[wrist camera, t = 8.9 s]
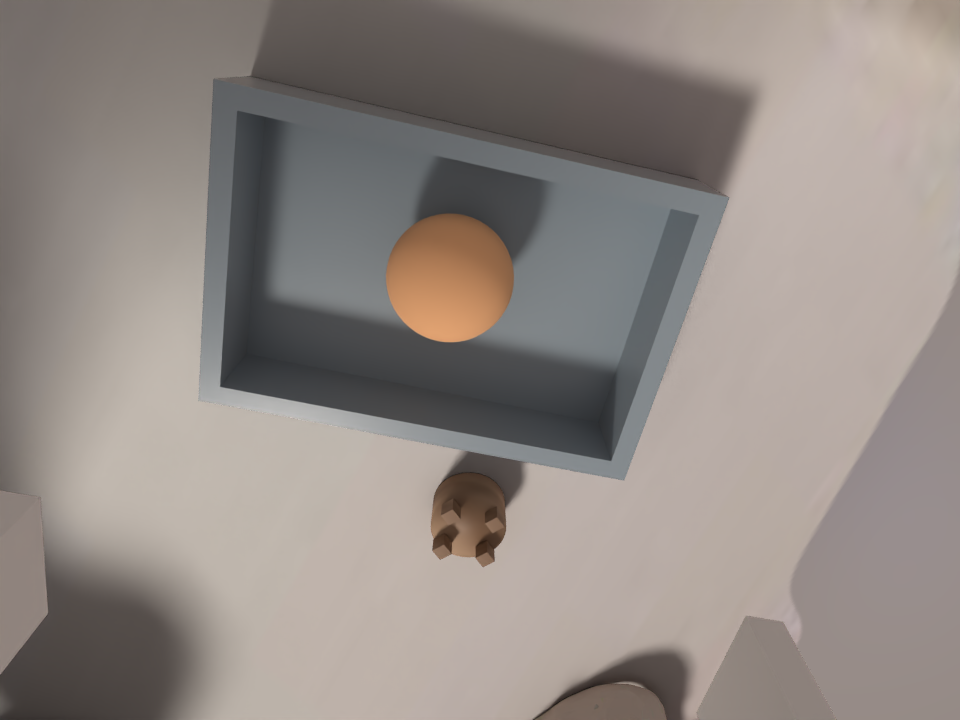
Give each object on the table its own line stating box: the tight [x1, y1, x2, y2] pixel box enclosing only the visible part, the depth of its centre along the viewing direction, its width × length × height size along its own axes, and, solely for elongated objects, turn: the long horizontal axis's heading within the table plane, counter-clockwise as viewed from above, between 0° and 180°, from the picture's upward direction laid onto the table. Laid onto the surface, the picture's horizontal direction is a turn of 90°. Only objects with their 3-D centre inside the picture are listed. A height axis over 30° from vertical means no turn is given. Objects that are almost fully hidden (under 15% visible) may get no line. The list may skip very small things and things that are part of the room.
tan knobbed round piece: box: [431, 473, 506, 567], centre depth 39 cm, size 4×4×3 cm
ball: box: [386, 213, 514, 342], centre depth 31 cm, size 6×6×6 cm
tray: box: [198, 76, 729, 480], centre depth 33 cm, size 22×15×5 cm
